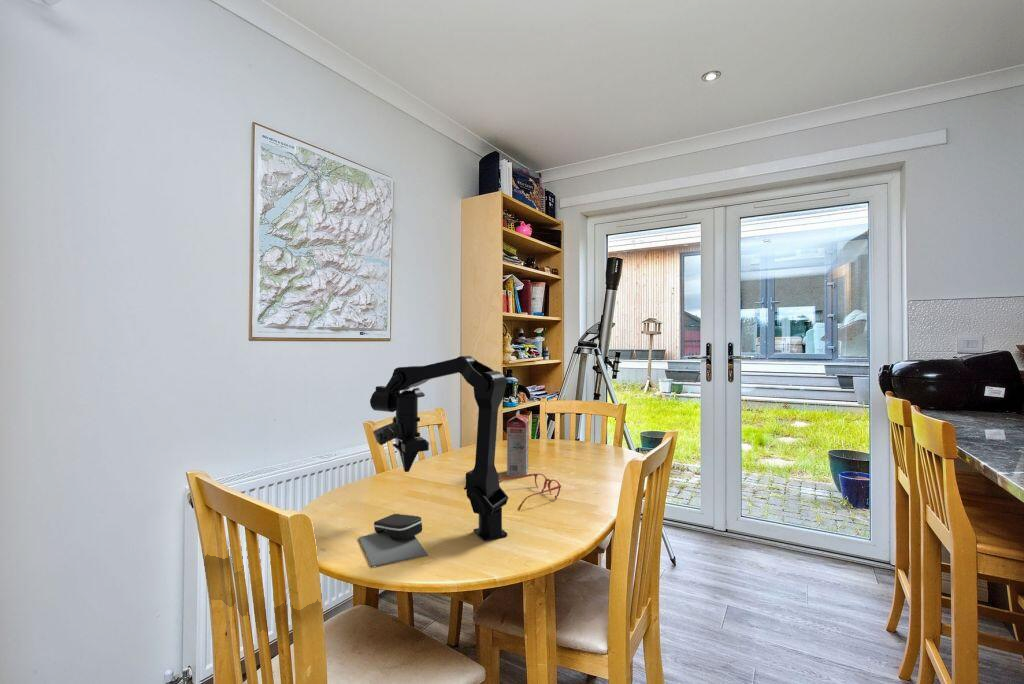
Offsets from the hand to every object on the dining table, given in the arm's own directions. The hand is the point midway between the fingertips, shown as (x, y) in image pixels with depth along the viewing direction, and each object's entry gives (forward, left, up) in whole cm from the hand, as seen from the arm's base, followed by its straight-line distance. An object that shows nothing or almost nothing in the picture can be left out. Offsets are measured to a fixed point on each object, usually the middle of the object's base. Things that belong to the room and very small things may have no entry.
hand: (406, 471), depth 126 cm
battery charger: (-6, +7, -11) cm, 14 cm away
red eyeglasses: (0, -37, -13) cm, 39 cm away
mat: (-16, +8, -12) cm, 22 cm away
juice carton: (+22, -45, -12) cm, 52 cm away
